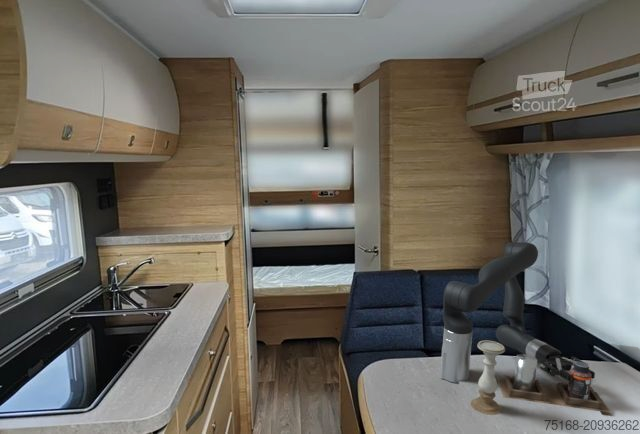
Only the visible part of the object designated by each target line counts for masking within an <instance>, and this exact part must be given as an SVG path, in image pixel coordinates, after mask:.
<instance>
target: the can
mask: <svg viewBox="0 0 640 434" xmlns="http://www.w3.org/2000/svg"><path fill="white" fill-rule="evenodd" d="M537 367H538V363H537V359H536V358H535V357H533V356H530V355H526V354H523V353H519V354H517V355H516V357H515V367H514V368H515V370H514V376H515V377H514V387H513V389H515V390H522V391H529V392H534V387H535V379H536V377H537Z"/></svg>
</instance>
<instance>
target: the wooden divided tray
mask: <svg viewBox="0 0 640 434" xmlns="http://www.w3.org/2000/svg"><path fill="white" fill-rule="evenodd" d="M514 377H515V375H514V376H513V375H506V374H504V378H497V383H498V384H499V385H498V386H499V387H500V391H501V394H502V397H503V398H507V399H514V400H521V401H526V402H533V403H540V404H547V405H555V406H561V407H567V408H575V409H581V410H582V409H583V410H588V411H589V410H590V411H596V412H600V414H601V415H602V416H603V415H604V416H612V415H611V414H612V412H611V410H610V409H609V408H608V406H607V404H606V403H605V402H604V401H603V399H602V398H601V397H600V395H599V393H598V392H597V391H595V390H594V389H593V387H592V386H591V388H590V396H589V400H586V399H578V398H571V397H569V396H568V383H565V382H558V381H557V383H556V386H554V385H548V384H541V383H540V382H539V380H538V379H536V378H535V387H534V392H529V391H522V390H515V389H513V387H514Z"/></svg>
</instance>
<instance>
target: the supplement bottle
mask: <svg viewBox="0 0 640 434" xmlns="http://www.w3.org/2000/svg"><path fill="white" fill-rule="evenodd" d="M584 362H585V361H583V362H575V363H574V366H572V368H571V369H570V371H569V373H570V374H572V375H573V381H572V382H569V381H568V383H567V384H568V396H569V397H571V398H578V399H586V400H589V396H590V388H591V387H592V386H591V385H592V374H591V373H590V372H589V369H590V364H589V363H587V362H585V363H584ZM586 363H587V364H586Z"/></svg>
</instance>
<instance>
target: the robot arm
mask: <svg viewBox="0 0 640 434" xmlns="http://www.w3.org/2000/svg"><path fill="white" fill-rule="evenodd" d="M538 257H539V250H538V248H537V245H535V244H534V243H531V242H526V241H525V242H523V241H522V242H520V241H519V242H518V241H517V242H516V241H515V242H514V241H513V242H508V243H507V244H505V246H504V251H503V256H502V257H501V256H500V257H498V258H495V259H493V260H491V261H489V262H488V263H486V264H484V265H483V266H481V268H480V269H479V272H478V283H476V284H469V283H464V282H461V281H457V280H451V281H449V282H448V283H447V284H446V286H445V288H444V291H443V297H442V298H443V299H442V300H443V301H442V302H443V303H442V305H443V308H442V309H443V312H442V319H443V323H444V324H443V325H444V326H443V337H442V338H443V339H442V344H441V345H442V346H441V358H440V361H441V362H440V379H442V380H446V381H448V382H450V383H454V384H455V383H456V384H459V383H460V382H463V381H467V380H468V379H469V377H470V365H471V356H472V355H471V353H472V342H473V341H472V340H473V331H474V330H473V328H474V324H473V322H472V320H471V319H469V318H468V317H467V316H466V315H465V314H464V313H470V314H471V313H473V312H476V311H477V310H478V309H479V308H480V307H481V306H482V304H484V303H485V301H486V300H488V298H489V297H490V296H492V295H493V294H494V293H495V292H496V291H497V290H499V289H500V288H501V287H503V286H504V302H503V308H502V316H503V317H504V318H506V319H507V320H508V321H509V323H510V325H509V324H501V325H499V326H498V327H497V328H496V330H495V336H496V339H497V340H498V342H499V343H500V344H502V345H503V346H507V347H508V348H511V349H513V350H515V351H516V350H517V351H518V352H520V354H526V355H530V356H533V357H535V358H536V359H537V365H539V368H540V369H541V370H543V371H544V372H545V373H546V374H548V375H550V376H551V377H555V376H557V377H559V378H563V379H564V380H566V381H567V382H568V383H569V382H572V381H573V375H572V374H570V369H571V368H573V367H574V363H575V362H584V363H586V364H588V363H587V362H585V361H583V360H581V359H579V358H578V357H576V356H571V357H570V358H571V359H569V358H568V357H564V356H563V353H562V352H561V351H560V350H559V349H557V348H555V347H553V346H552V345H550V344H548V343H547V342H545V341H541V340H540V339H538V338H536V337H534V336H532V335H529V334H527V333H526V327H525V320H524V308H525V296H524V292H523V290H522V288H521V286H520V284H519V281H518V280H517V277H516V276H517V275H519V274H520V273H521V272H522V271H523V272H524V271H525V270H527V269H528V268H530V267H532V266H533V265H534V264H535V263H536V261H537V260H538ZM568 371H569V372H568ZM589 372H590V373H591V374H592V379H595V376H596V372H595V371H593V370H592V369H590V368H589ZM592 379H591V380H592Z"/></svg>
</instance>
